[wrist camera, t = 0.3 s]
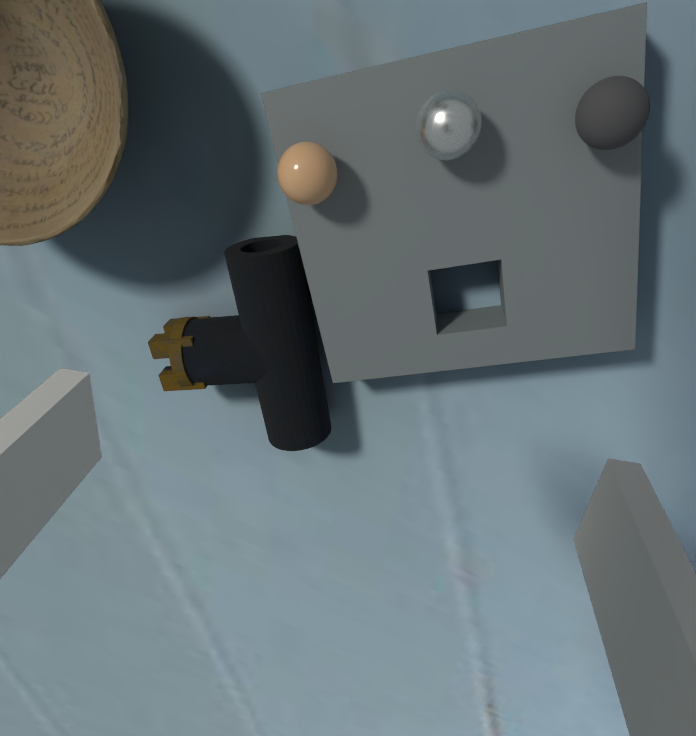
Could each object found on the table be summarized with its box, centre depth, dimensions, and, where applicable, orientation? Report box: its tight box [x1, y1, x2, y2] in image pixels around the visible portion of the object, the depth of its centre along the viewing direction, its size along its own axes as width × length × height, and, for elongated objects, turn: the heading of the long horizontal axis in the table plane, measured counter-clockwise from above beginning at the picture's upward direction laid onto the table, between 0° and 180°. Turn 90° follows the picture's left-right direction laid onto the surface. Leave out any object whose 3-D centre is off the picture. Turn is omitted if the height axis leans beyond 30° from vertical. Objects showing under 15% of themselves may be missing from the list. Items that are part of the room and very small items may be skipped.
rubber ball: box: [575, 76, 650, 150], centre depth 28 cm, size 3×3×3 cm
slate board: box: [261, 3, 647, 383], centre depth 35 cm, size 19×20×4 cm
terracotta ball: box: [277, 142, 338, 205], centre depth 31 cm, size 3×3×3 cm
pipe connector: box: [148, 235, 331, 451], centre depth 41 cm, size 12×5×15 cm
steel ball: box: [416, 90, 482, 160], centre depth 29 cm, size 3×3×3 cm
